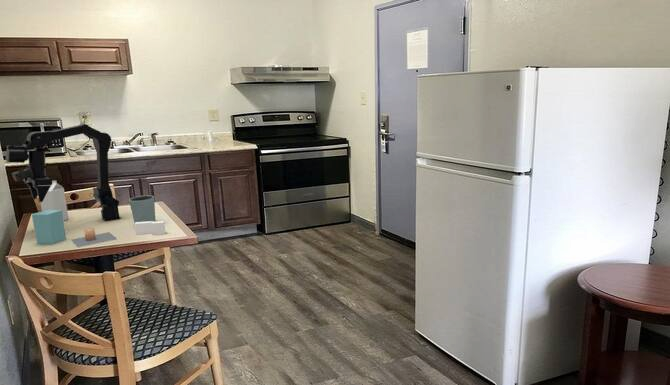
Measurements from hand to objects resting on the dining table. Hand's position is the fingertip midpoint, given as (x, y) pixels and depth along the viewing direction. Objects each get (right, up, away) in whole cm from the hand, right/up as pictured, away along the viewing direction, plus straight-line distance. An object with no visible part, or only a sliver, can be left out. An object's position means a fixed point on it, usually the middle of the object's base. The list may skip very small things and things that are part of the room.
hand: (37, 200), depth 192 cm
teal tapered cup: (+41, -11, +10) cm, 43 cm away
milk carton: (-5, -10, +22) cm, 24 cm away
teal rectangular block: (+12, -16, -10) cm, 23 cm away
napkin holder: (+49, -14, -5) cm, 51 cm away
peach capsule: (+27, -15, -10) cm, 33 cm away
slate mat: (+29, -15, -10) cm, 34 cm away
